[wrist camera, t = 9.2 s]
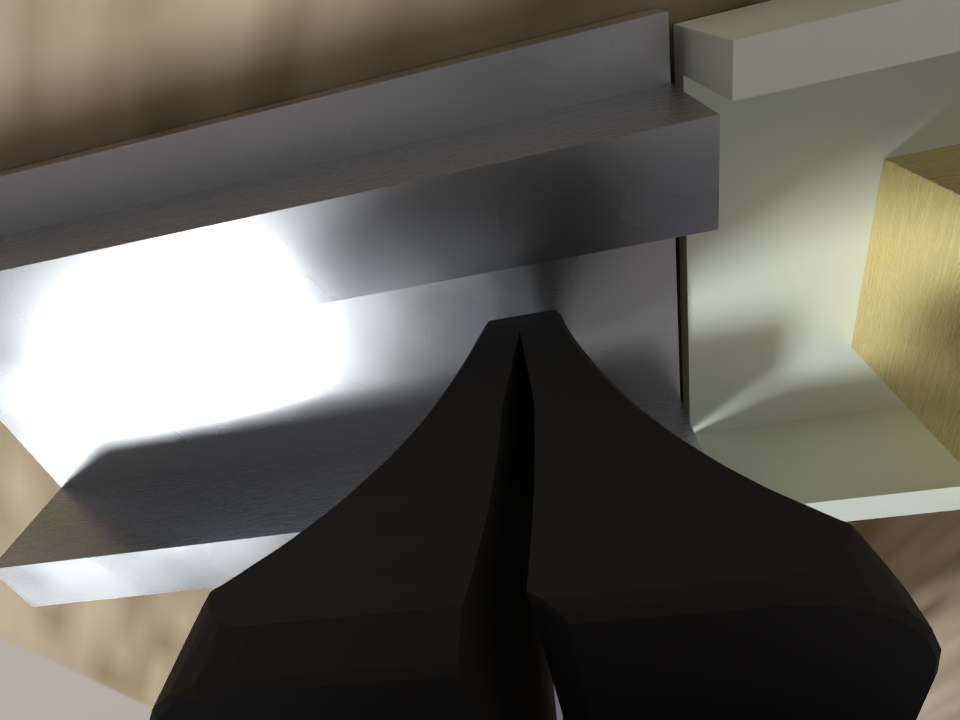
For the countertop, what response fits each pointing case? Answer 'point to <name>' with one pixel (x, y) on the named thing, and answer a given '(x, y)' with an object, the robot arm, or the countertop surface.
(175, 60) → the countertop surface
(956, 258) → the brass block
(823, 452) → the tray
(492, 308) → the rail
